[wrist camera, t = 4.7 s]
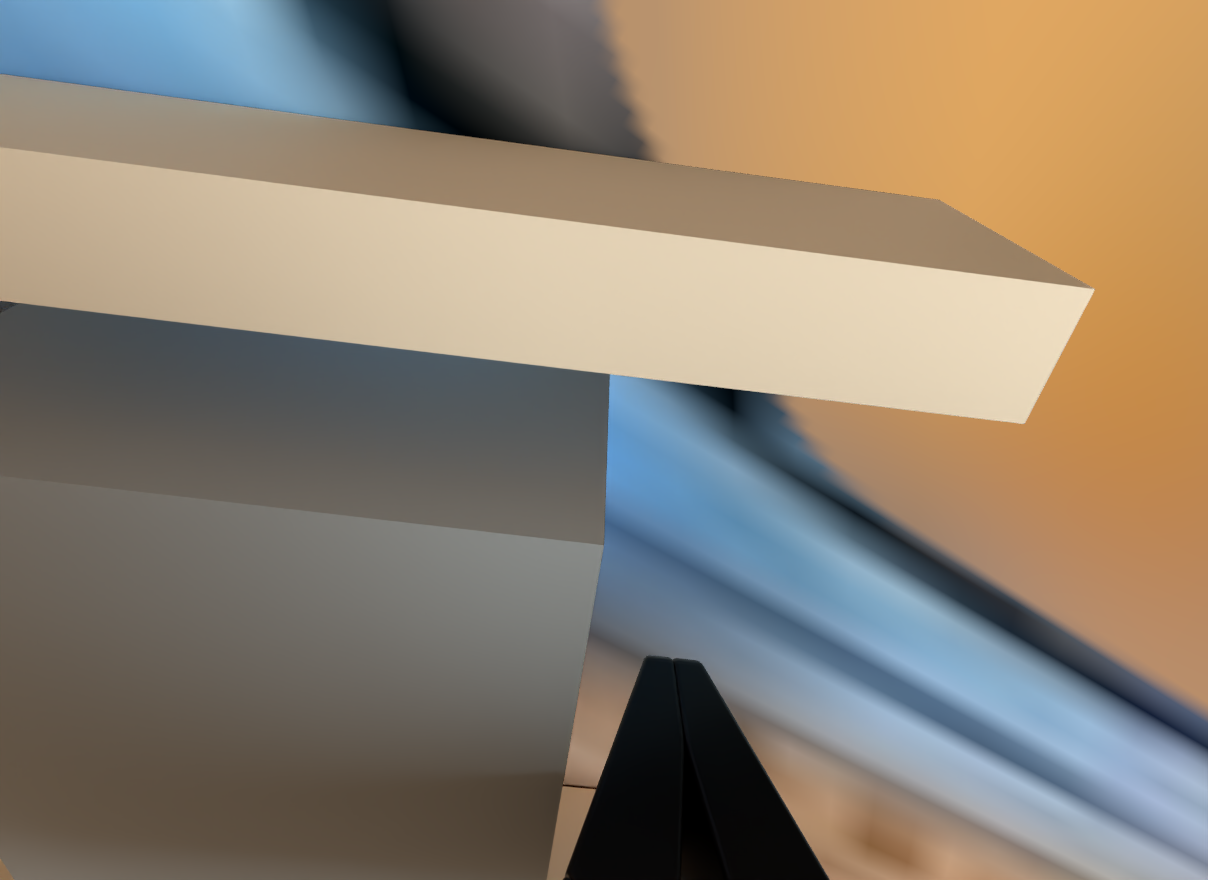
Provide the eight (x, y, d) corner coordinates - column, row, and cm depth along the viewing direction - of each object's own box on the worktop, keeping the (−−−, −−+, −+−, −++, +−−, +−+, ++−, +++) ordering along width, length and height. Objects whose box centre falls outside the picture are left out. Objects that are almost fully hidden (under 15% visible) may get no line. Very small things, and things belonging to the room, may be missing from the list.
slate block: (610, 347, 9) (604, 544, 6) (560, 685, 13) (538, 927, 9) (72, 278, 9) (-277, 445, 5) (181, 646, 12) (16, 882, 9)
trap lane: (938, 200, 8) (1094, 288, 5) (704, 831, 15) (722, 1000, 12) (-982, -58, 7) (-1935, -106, 4) (-256, 743, 14) (-452, 905, 11)
